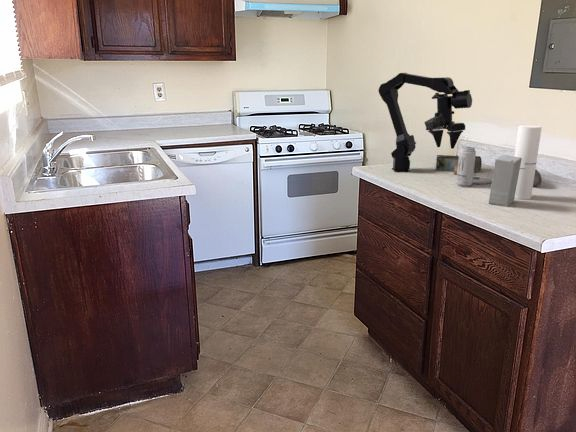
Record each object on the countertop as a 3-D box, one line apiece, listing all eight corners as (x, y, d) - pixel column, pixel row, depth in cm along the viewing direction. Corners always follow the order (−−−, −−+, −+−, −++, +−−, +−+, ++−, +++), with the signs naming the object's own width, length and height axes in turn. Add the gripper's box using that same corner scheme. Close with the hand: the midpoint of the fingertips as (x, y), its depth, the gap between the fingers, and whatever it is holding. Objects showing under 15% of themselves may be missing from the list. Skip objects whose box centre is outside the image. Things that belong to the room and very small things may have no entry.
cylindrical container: (533, 200, 169) (544, 127, 161) (511, 199, 170) (521, 127, 162) (528, 194, 175) (538, 125, 168) (507, 193, 177) (516, 124, 169)
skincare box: (495, 198, 171) (500, 154, 166) (516, 202, 166) (523, 156, 162) (487, 203, 165) (492, 157, 160) (509, 207, 160) (515, 160, 155)
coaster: (469, 185, 190) (469, 183, 190) (458, 178, 200) (458, 177, 200) (497, 184, 190) (497, 182, 190) (484, 178, 201) (484, 176, 201)
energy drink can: (452, 184, 191) (456, 146, 186) (465, 183, 193) (469, 145, 188) (462, 188, 185) (467, 149, 181) (475, 186, 187) (479, 148, 183)
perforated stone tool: (545, 188, 183) (548, 170, 181) (531, 189, 183) (534, 171, 181) (525, 179, 198) (528, 163, 196) (513, 180, 198) (515, 163, 195)
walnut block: (459, 176, 204) (460, 167, 203) (453, 174, 208) (454, 165, 207) (467, 175, 205) (468, 166, 204) (461, 174, 209) (462, 164, 208)
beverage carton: (435, 167, 223) (436, 153, 221) (479, 169, 218) (481, 155, 216) (435, 170, 216) (436, 156, 214) (481, 173, 211) (482, 158, 209)
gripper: (414, 111, 203) (415, 148, 206) (441, 111, 186) (442, 151, 189) (437, 109, 206) (438, 145, 210) (466, 108, 189) (466, 148, 192)
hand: (445, 147), depth 200 cm, fingers open, 9 cm apart
